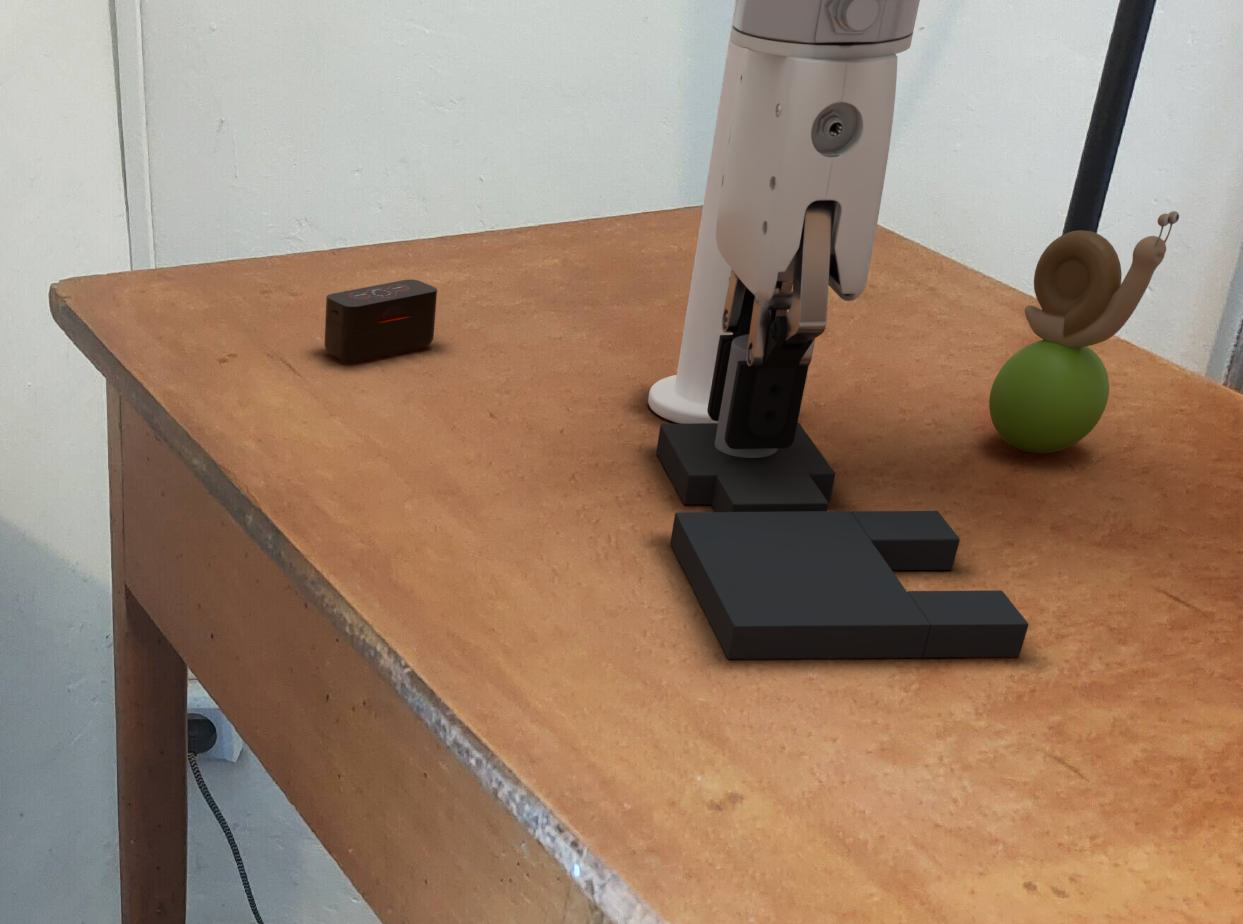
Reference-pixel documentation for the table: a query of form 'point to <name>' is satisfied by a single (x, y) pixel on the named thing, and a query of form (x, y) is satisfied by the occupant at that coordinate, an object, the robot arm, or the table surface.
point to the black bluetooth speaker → (380, 320)
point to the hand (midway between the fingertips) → (749, 428)
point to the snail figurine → (1070, 339)
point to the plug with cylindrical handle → (743, 464)
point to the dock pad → (837, 586)
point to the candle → (704, 279)
